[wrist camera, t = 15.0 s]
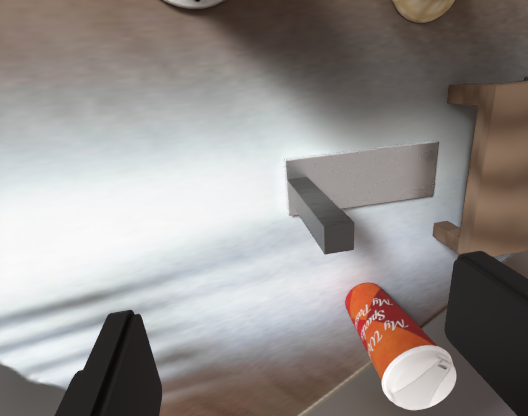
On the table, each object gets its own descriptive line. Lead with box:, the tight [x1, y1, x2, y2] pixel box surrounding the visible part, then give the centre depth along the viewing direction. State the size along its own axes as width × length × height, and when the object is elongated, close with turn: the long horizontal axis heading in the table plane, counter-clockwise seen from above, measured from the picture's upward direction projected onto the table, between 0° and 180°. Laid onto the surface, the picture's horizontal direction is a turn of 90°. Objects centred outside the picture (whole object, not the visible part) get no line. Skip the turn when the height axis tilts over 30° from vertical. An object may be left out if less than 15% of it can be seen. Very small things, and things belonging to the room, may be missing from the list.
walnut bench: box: [433, 77, 528, 257], centre depth 40 cm, size 20×12×7 cm, turn 5°
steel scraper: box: [284, 141, 439, 254], centre depth 34 cm, size 7×19×15 cm, turn 95°
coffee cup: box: [345, 283, 456, 410], centre depth 41 cm, size 8×8×15 cm
